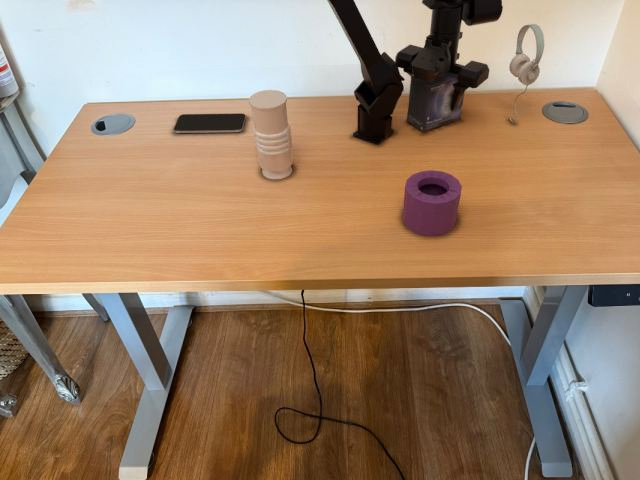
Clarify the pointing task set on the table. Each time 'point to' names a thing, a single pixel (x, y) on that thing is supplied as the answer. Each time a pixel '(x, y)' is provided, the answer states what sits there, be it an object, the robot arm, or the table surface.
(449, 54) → the robot arm
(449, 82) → the small box
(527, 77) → the headphones
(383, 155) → the table surface
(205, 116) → the smartphone
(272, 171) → the beige ribbed cylinder
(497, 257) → the table surface
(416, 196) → the jar
